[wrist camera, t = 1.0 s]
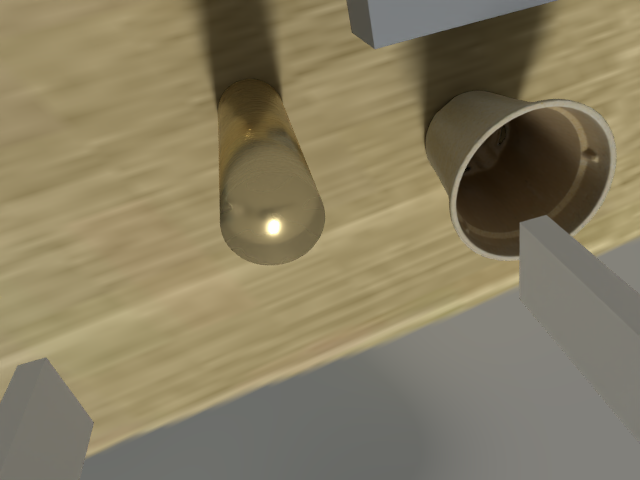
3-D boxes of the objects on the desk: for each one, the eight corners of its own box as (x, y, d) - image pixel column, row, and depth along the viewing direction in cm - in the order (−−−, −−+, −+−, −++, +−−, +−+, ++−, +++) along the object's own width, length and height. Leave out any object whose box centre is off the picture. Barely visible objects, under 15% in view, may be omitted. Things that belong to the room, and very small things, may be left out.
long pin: (229, 150, 32) (237, 276, 20) (209, 88, 30) (205, 189, 18) (290, 134, 32) (334, 249, 20) (274, 71, 30) (312, 160, 18)
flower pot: (383, 98, 32) (433, 147, 25) (522, 38, 32) (614, 69, 24) (419, 215, 37) (469, 284, 30) (539, 165, 37) (619, 222, 29)
